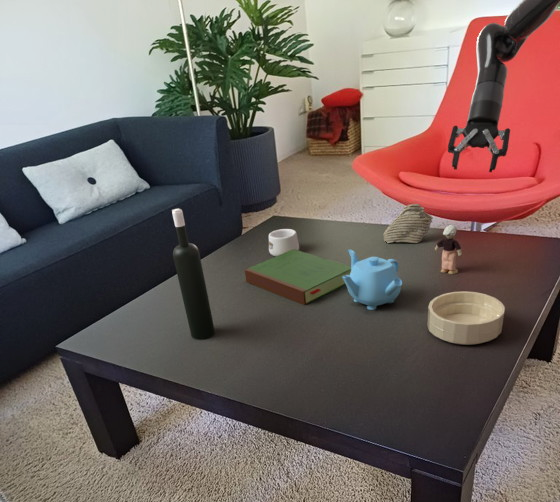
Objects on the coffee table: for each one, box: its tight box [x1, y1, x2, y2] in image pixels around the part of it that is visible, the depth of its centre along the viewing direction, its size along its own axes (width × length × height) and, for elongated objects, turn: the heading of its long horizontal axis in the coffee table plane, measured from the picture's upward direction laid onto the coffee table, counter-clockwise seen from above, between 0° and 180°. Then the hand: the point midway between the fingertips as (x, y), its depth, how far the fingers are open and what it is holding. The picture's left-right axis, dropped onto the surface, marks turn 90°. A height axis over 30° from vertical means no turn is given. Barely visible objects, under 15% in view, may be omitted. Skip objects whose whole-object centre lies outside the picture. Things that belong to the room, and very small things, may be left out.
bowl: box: [427, 290, 506, 346], centre depth 114 cm, size 15×15×6 cm
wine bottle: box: [171, 207, 216, 340], centre depth 118 cm, size 6×6×30 cm
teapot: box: [342, 248, 403, 311], centre depth 128 cm, size 15×14×11 cm
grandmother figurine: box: [434, 224, 463, 275], centre depth 138 cm, size 8×4×13 cm, turn 57°
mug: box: [268, 228, 300, 257], centre depth 166 cm, size 12×10×6 cm
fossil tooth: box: [383, 203, 434, 244], centre depth 160 cm, size 12×6×15 cm
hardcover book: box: [244, 249, 351, 306], centre depth 145 cm, size 25×19×4 cm
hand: (472, 169), depth 132 cm, fingers open, 8 cm apart
